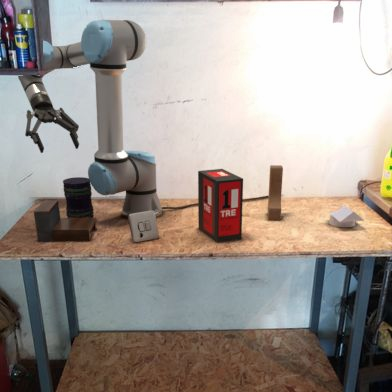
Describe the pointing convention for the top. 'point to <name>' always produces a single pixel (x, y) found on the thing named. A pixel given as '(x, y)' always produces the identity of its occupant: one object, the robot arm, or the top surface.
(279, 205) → the wooden block
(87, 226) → the l-shaped metal base
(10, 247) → the top surface
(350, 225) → the wedge on round base
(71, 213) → the blue oil drum
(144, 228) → the electrical switch
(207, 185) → the cleaning product box
